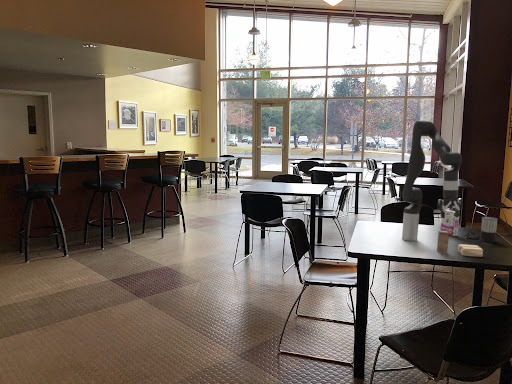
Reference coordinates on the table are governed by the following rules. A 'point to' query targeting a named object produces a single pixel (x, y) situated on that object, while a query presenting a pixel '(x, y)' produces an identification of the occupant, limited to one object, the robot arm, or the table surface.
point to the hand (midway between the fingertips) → (449, 217)
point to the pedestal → (470, 250)
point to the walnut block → (442, 242)
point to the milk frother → (486, 230)
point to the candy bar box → (450, 223)
